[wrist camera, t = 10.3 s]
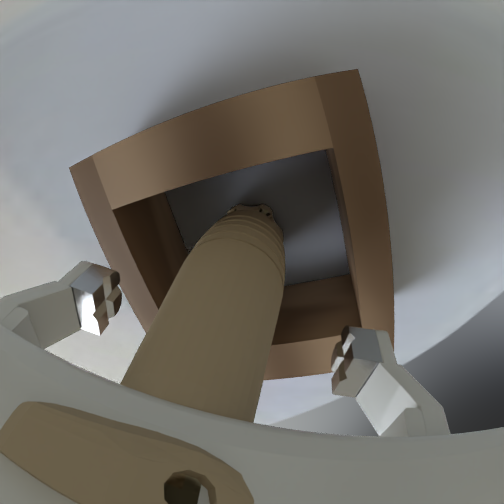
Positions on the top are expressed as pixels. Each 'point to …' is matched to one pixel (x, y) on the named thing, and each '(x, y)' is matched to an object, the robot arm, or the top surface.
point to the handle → (172, 380)
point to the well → (239, 157)
